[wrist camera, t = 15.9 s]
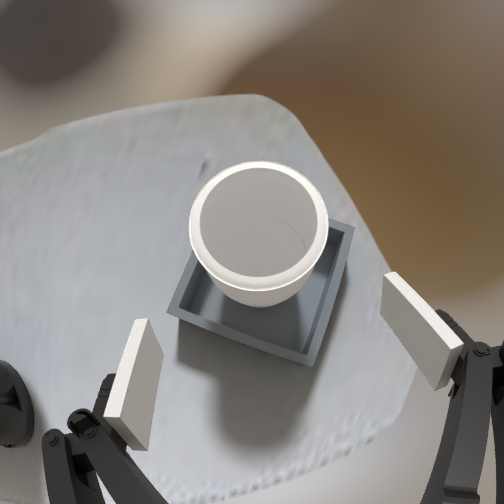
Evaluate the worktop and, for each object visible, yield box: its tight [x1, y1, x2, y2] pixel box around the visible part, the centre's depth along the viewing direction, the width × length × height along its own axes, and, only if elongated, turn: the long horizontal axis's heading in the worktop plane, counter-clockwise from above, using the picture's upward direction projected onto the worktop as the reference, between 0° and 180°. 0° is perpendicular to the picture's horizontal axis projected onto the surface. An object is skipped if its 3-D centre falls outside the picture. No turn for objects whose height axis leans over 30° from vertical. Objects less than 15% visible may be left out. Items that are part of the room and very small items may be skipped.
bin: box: [166, 218, 355, 367], centre depth 33 cm, size 16×16×5 cm
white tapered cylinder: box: [189, 161, 329, 308], centre depth 28 cm, size 11×10×15 cm
